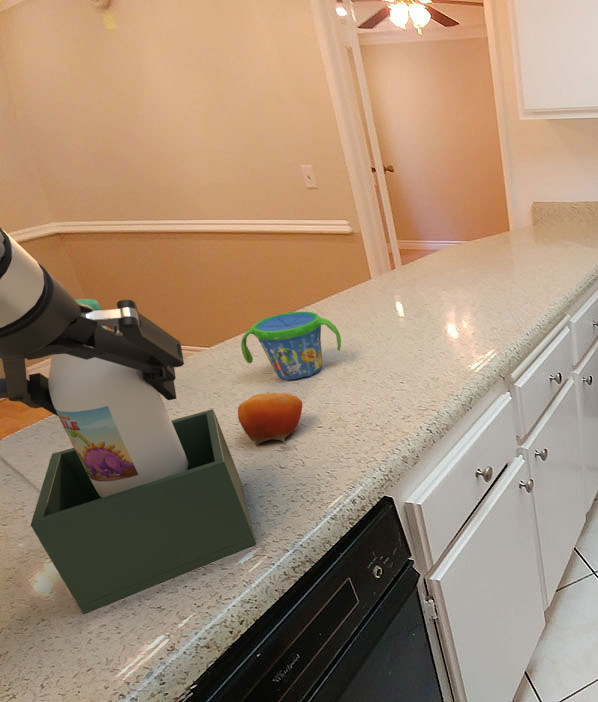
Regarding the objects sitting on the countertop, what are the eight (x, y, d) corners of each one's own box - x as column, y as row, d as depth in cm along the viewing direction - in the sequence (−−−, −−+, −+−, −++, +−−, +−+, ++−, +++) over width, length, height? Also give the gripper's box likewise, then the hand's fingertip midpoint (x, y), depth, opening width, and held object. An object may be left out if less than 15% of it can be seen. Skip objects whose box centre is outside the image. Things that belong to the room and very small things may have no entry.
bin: (94, 533, 65) (51, 453, 60) (241, 482, 73) (213, 408, 68) (83, 614, 54) (30, 524, 50) (256, 544, 62) (224, 461, 58)
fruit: (230, 452, 77) (225, 395, 77) (254, 451, 84) (249, 398, 85) (295, 441, 78) (289, 385, 79) (313, 441, 86) (307, 390, 87)
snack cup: (352, 355, 109) (339, 306, 105) (340, 378, 100) (326, 325, 96) (264, 366, 106) (248, 315, 102) (243, 390, 97) (224, 336, 93)
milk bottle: (171, 453, 65) (99, 288, 57) (204, 472, 61) (132, 298, 53) (87, 490, 59) (-6, 312, 51) (118, 513, 55) (23, 325, 47)
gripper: (150, 229, 45) (230, 345, 65) (-239, 270, 36) (-11, 391, 56) (163, 309, 43) (241, 404, 63) (-247, 373, 34) (-7, 461, 54)
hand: (122, 398), depth 59 cm, fingers closed on milk bottle, 8 cm apart
